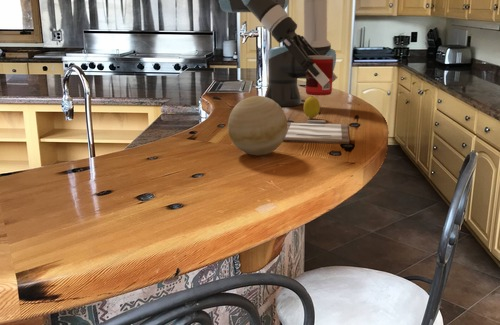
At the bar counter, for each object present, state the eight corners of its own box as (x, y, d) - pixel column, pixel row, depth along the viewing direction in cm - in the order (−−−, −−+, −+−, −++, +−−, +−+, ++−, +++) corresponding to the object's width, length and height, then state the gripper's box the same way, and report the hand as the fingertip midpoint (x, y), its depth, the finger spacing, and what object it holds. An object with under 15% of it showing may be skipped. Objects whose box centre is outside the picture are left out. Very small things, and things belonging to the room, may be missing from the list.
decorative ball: (298, 156, 132) (300, 97, 128) (248, 165, 124) (248, 102, 120) (265, 144, 144) (265, 90, 140) (217, 152, 136) (216, 94, 132)
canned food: (333, 92, 158) (335, 55, 155) (328, 96, 150) (330, 57, 148) (309, 91, 160) (310, 55, 157) (302, 94, 153) (304, 56, 150)
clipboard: (285, 123, 173) (285, 119, 172) (347, 125, 170) (347, 121, 170) (277, 141, 148) (277, 136, 148) (349, 143, 145) (349, 138, 145)
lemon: (318, 120, 178) (319, 97, 176) (302, 120, 179) (302, 96, 177) (319, 117, 183) (320, 95, 181) (304, 117, 184) (304, 94, 182)
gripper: (283, 33, 166) (330, 86, 164) (257, 34, 148) (310, 95, 146) (299, 15, 163) (348, 70, 161) (275, 15, 144) (329, 76, 142)
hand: (330, 82), depth 153 cm, fingers closed on canned food, 8 cm apart
